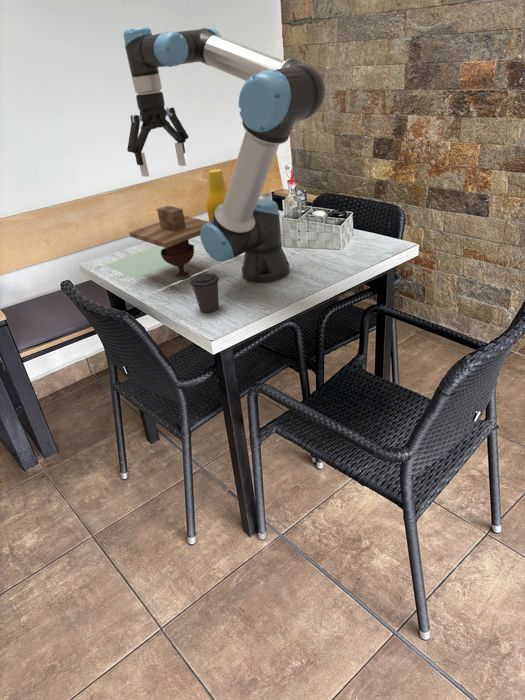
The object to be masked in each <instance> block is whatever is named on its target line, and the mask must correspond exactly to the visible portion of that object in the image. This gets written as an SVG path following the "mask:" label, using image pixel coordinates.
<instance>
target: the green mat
mask: <svg viewBox="0 0 525 700" xmlns="http://www.w3.org/2000/svg"><path fill="white" fill-rule="evenodd" d="M162 249H164V247H161V246H157V245H154V246H152V247H149V248H147V249H144V250H142V251H139V252H136V253H133V254H131V255H129V256H125V257H123V258H120V259H118V260H114V261H112V262H108V263H107V264H104V266H105V267H107V268H108V269H112V270H115V271H117V272H119V273H121V274H124V275H126V276H129V277H131V278H133V279H136V280H137V279H140V278H142V277H146V276H147V275H149V274H152V273H154V272H157V271H159V270H162V269H164V268H167V267H169V266H172V265H171V264H169V263H167V262H166V261H165V260H164V259H163V258H162V256H161V250H162Z"/></svg>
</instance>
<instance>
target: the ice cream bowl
mask: <svg viewBox="0 0 525 700" xmlns="http://www.w3.org/2000/svg"><path fill="white" fill-rule="evenodd" d="M194 254H195V245H193V244H191V243H190V242H189V240H186V241H183V242H181V243H178V244H175V245H173V246H170V247H167V248H164V247H163V249H162V250H161V256H162V258H163V259H164V260H165V261H166V262H167V263H169V264H171V265H170V266H174V267H177V268H178V272H177V274H175V277H177V278H181V279H180V281H184V280H187V279H189V278H191V277H192V275H190V272H188V271H185V265H187V264H189V262H190V261H191V260H192V259H193V257H194Z"/></svg>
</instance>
